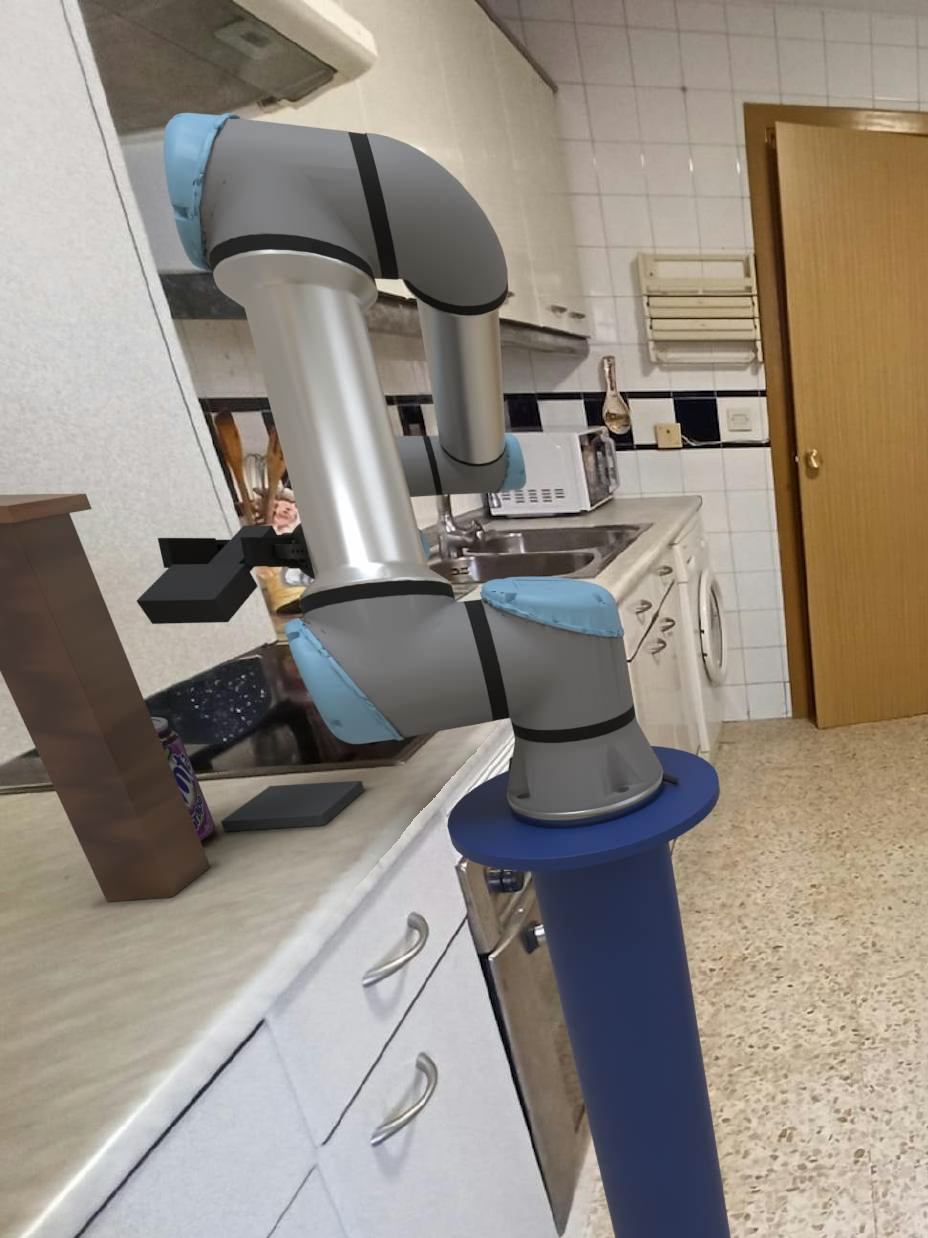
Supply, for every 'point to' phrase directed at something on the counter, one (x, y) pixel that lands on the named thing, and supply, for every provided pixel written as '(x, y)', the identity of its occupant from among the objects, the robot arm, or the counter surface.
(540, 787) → the robot arm
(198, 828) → the beverage can
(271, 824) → the base pad
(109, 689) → the stand
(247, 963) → the counter surface
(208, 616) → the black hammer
